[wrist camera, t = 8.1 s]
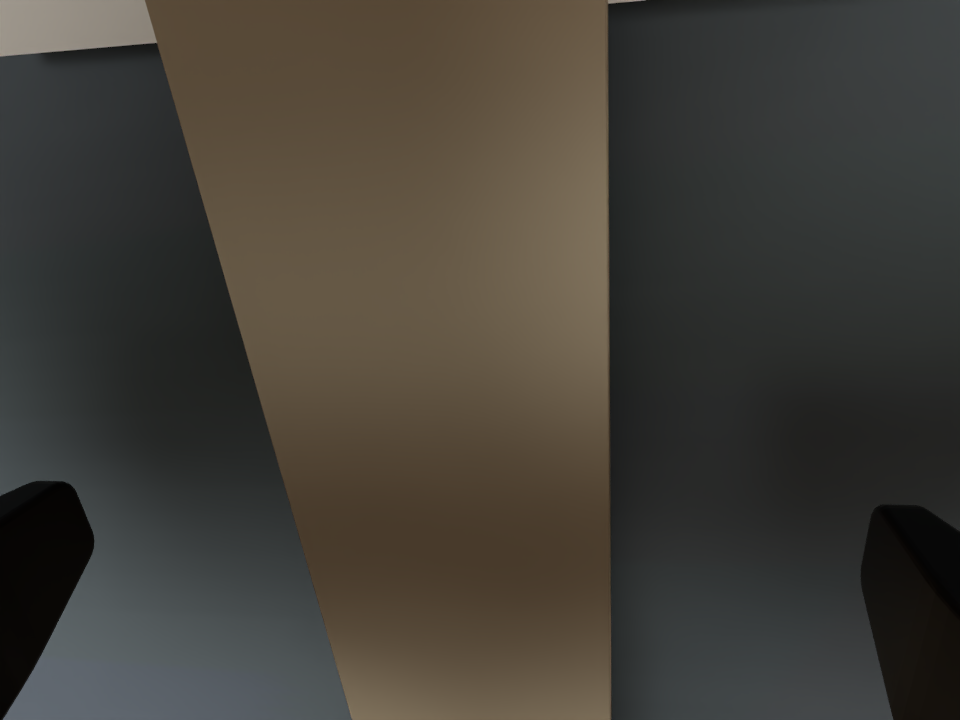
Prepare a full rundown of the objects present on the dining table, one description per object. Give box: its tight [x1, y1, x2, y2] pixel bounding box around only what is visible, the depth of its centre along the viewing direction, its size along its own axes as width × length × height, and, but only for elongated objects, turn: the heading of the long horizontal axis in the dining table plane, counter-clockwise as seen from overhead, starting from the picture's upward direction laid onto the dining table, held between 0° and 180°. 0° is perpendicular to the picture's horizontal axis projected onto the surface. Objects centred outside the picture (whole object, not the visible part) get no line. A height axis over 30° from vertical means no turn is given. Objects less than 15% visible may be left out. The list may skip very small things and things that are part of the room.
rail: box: [145, 0, 611, 720], centre depth 10 cm, size 20×4×5 cm, turn 5°
